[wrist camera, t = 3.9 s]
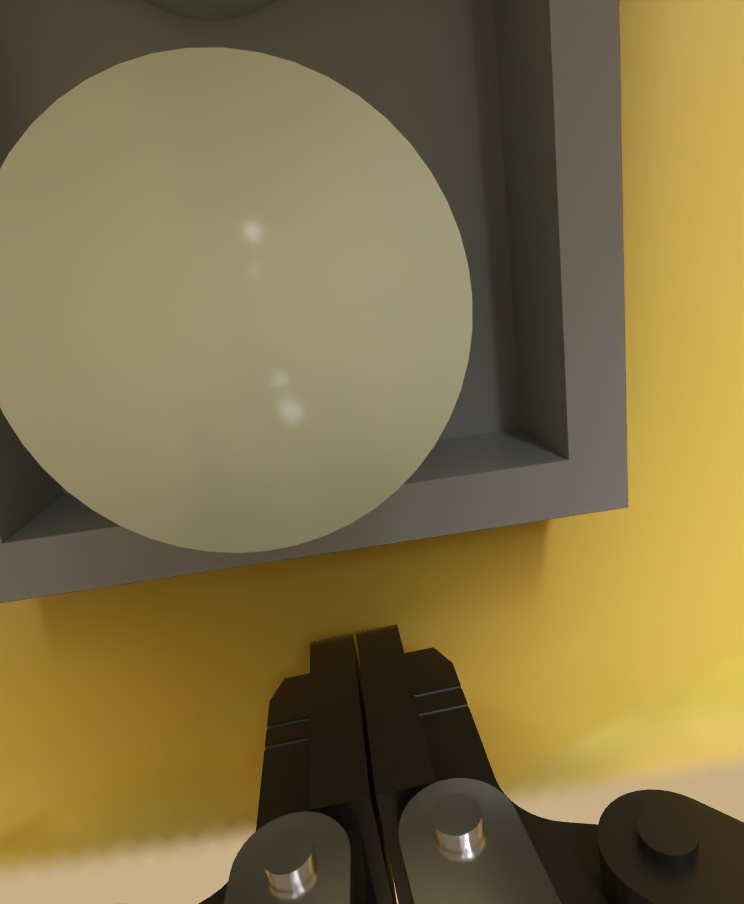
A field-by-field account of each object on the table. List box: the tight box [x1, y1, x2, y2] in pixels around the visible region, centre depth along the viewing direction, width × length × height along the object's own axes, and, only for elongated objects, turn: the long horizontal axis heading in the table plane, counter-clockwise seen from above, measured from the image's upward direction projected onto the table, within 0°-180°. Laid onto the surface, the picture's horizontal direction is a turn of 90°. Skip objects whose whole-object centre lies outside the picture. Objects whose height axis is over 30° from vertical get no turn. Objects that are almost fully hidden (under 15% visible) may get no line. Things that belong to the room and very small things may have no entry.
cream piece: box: [0, 47, 472, 553], centre depth 7 cm, size 4×4×5 cm
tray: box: [0, 0, 628, 603], centre depth 8 cm, size 12×9×3 cm
